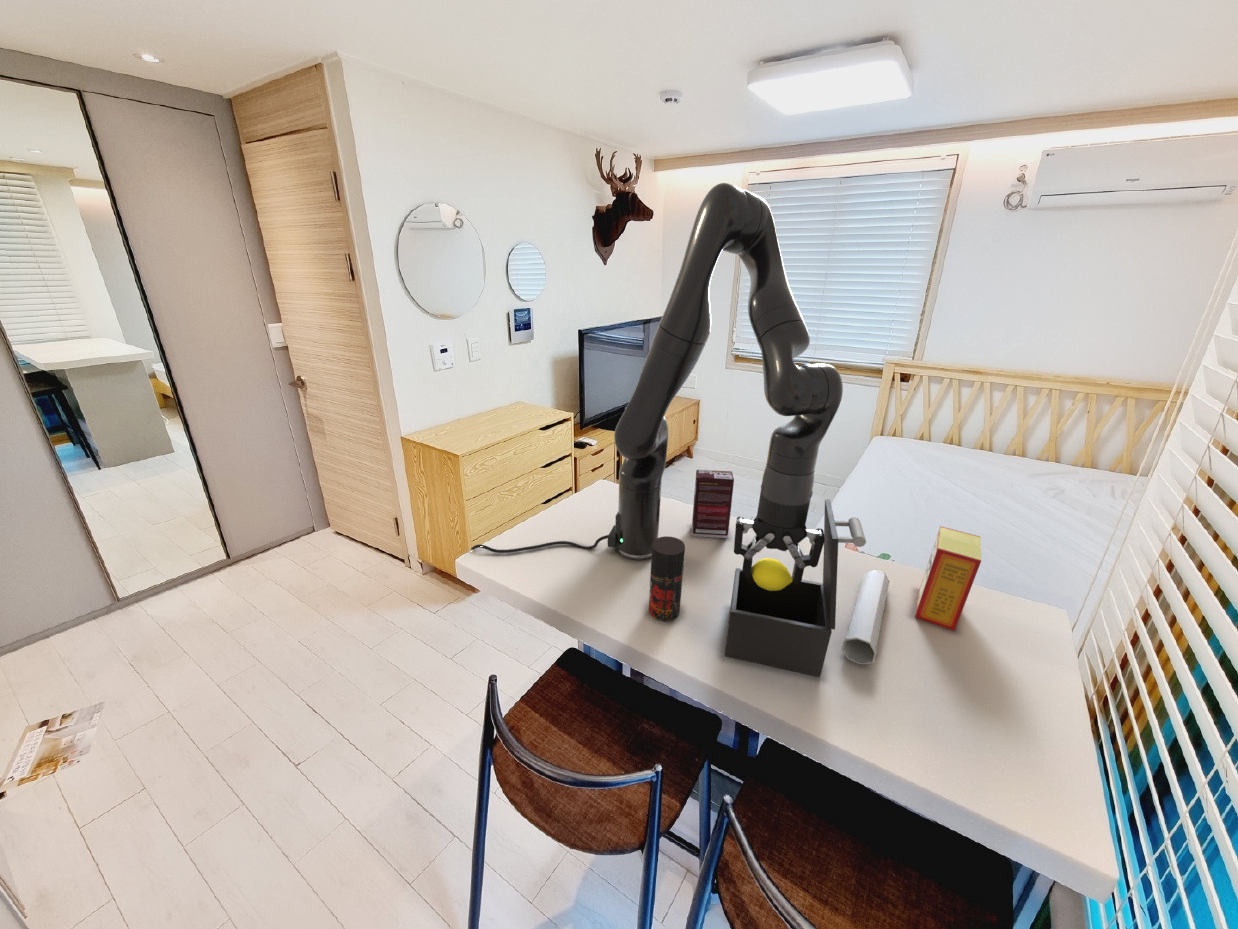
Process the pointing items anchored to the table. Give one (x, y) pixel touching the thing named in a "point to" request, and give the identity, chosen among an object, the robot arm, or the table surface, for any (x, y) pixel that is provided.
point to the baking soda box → (948, 577)
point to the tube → (867, 619)
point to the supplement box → (712, 503)
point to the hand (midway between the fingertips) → (770, 578)
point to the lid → (836, 555)
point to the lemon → (771, 574)
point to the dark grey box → (779, 625)
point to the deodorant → (666, 578)
